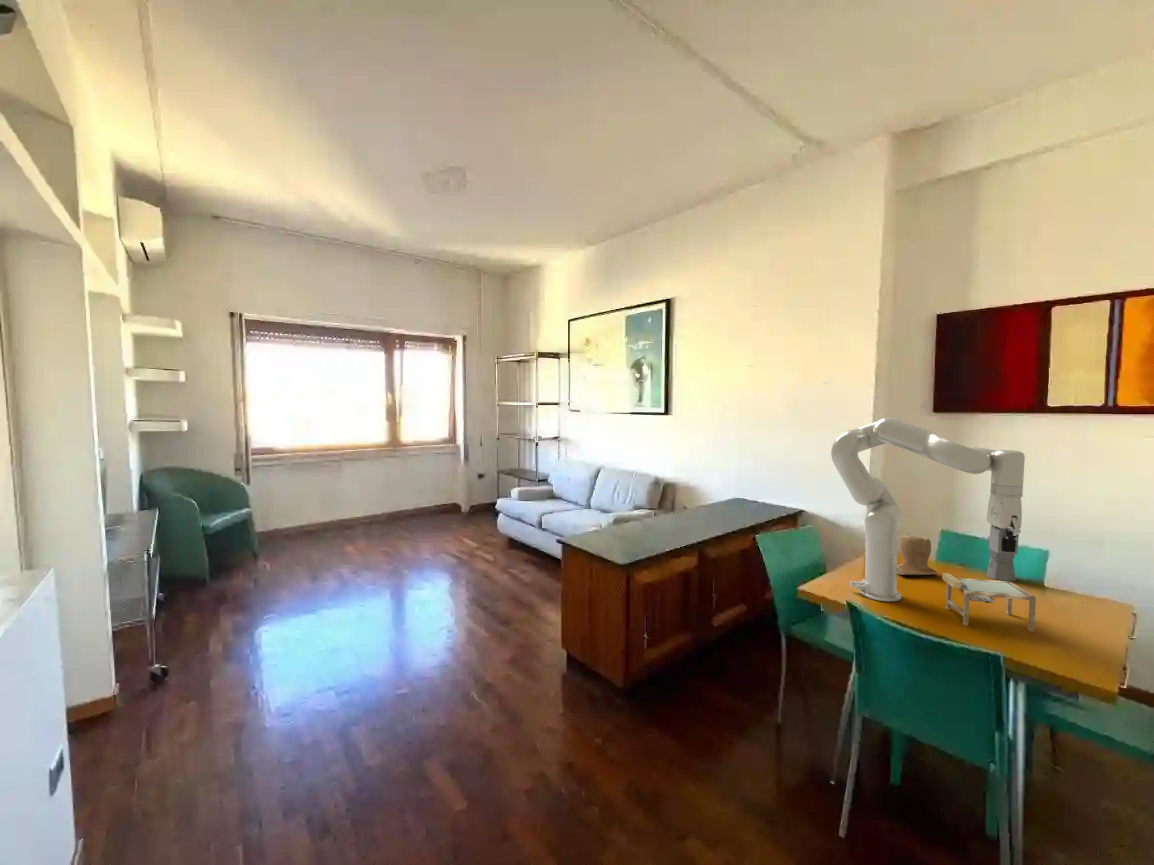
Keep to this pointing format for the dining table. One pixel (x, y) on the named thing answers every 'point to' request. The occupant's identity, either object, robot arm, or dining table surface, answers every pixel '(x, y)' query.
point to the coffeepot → (1001, 566)
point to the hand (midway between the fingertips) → (1003, 548)
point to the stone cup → (915, 556)
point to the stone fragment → (979, 598)
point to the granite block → (999, 540)
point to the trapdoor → (980, 585)
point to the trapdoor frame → (965, 610)
